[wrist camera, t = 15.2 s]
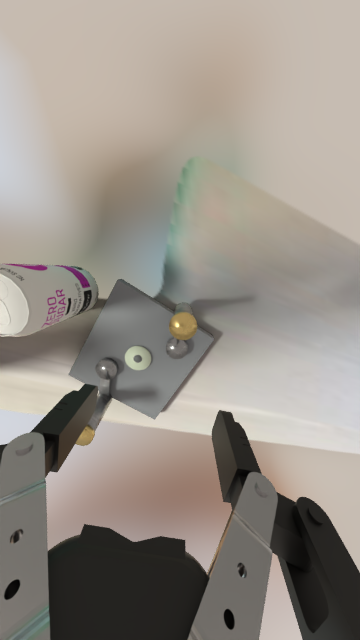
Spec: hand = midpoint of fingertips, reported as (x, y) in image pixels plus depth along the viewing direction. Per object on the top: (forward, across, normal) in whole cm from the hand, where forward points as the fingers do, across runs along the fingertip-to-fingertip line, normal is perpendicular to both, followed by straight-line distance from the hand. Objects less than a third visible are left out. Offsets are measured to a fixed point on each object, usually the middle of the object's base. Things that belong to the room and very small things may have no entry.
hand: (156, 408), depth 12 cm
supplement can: (+24, +18, -2) cm, 30 cm away
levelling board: (+23, +5, +9) cm, 25 cm away
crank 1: (+21, +10, +15) cm, 28 cm away
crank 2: (+21, -2, +1) cm, 21 cm away
